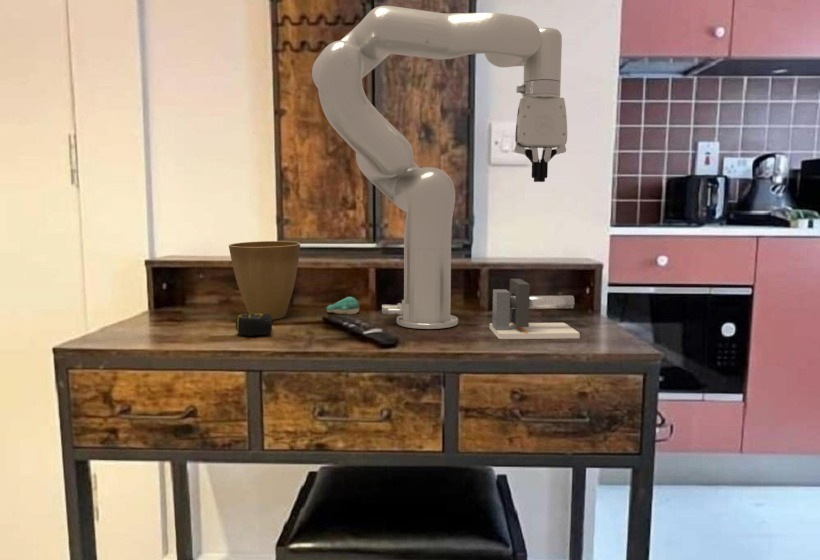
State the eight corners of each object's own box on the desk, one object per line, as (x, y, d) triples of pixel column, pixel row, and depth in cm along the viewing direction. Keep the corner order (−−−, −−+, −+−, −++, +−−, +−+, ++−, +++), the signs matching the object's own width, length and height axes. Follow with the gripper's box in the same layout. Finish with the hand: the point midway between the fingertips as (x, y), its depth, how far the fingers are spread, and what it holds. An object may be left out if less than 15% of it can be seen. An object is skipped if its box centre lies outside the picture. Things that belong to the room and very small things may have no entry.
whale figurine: (360, 315, 144) (359, 298, 144) (326, 316, 143) (326, 299, 143) (358, 311, 150) (358, 294, 149) (326, 311, 149) (326, 295, 148)
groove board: (499, 339, 120) (499, 333, 120) (489, 328, 130) (489, 322, 130) (579, 338, 121) (579, 332, 121) (563, 327, 131) (564, 322, 130)
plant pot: (245, 310, 149) (243, 240, 147) (309, 311, 148) (307, 241, 146) (220, 323, 135) (217, 245, 132) (291, 324, 133) (289, 246, 131)
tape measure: (272, 338, 121) (271, 318, 121) (234, 339, 120) (233, 319, 120) (273, 330, 128) (273, 311, 127) (237, 331, 127) (237, 312, 126)
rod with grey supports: (496, 330, 123) (496, 292, 122) (492, 326, 127) (493, 289, 126) (574, 329, 124) (576, 292, 123) (568, 325, 128) (569, 289, 127)
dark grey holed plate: (517, 327, 121) (518, 284, 120) (509, 319, 129) (509, 278, 128) (528, 327, 121) (529, 284, 120) (519, 319, 129) (520, 278, 128)
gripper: (509, 88, 131) (507, 181, 134) (582, 89, 132) (579, 181, 134) (502, 94, 139) (500, 182, 141) (571, 95, 140) (568, 182, 142)
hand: (539, 181), depth 138 cm, fingers closed
